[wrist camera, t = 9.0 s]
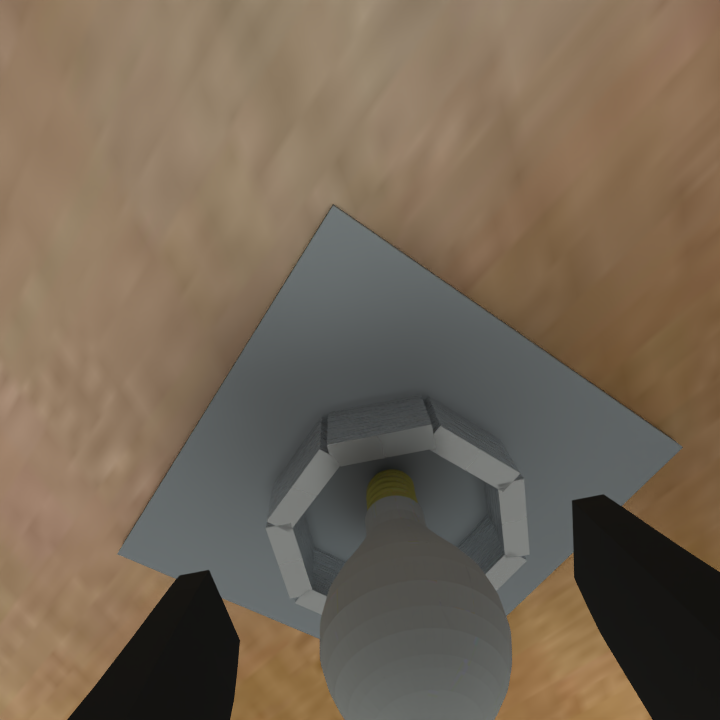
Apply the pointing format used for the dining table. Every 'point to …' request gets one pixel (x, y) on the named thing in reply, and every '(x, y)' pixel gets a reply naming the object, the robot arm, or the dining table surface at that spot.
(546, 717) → the dining table surface
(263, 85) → the dining table surface
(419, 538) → the light bulb
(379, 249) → the holder
